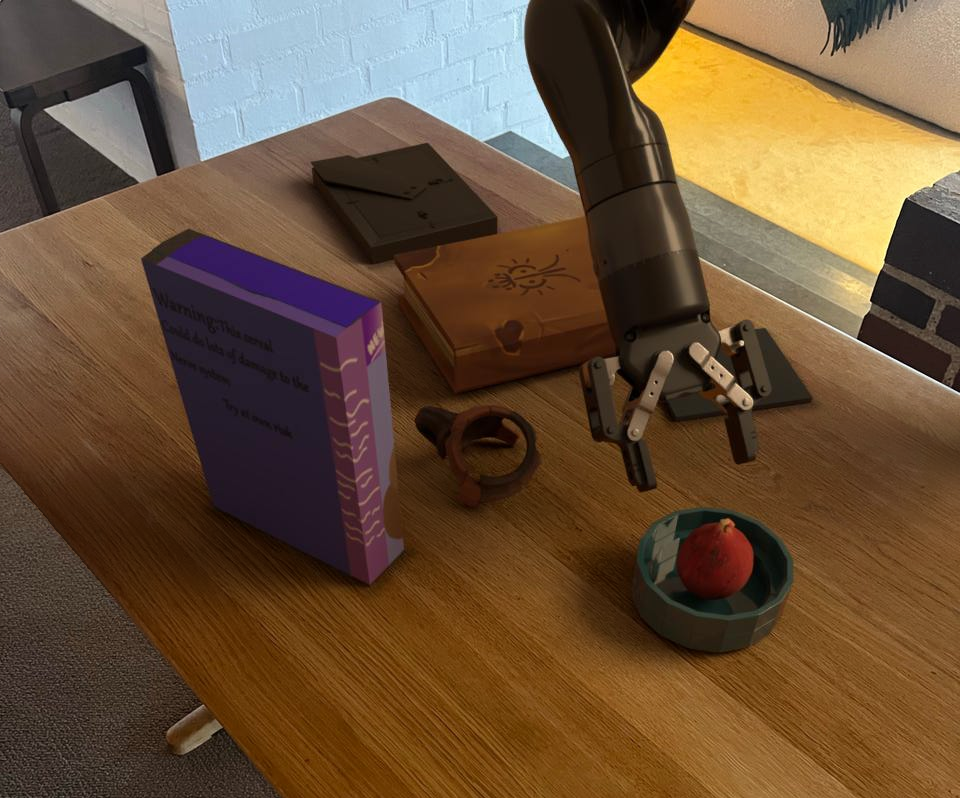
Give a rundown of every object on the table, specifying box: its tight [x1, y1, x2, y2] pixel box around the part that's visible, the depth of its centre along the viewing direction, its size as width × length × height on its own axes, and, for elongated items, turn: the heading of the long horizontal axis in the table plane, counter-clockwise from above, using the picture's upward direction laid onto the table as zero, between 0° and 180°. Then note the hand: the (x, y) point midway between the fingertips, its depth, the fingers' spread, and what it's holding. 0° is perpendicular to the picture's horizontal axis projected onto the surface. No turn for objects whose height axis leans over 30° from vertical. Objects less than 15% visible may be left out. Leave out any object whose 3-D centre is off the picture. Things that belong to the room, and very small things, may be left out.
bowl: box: [630, 506, 795, 653], centre depth 79 cm, size 12×12×4 cm
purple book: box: [140, 228, 405, 587], centre depth 77 cm, size 17×5×24 cm, turn 57°
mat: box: [664, 327, 814, 422], centre depth 99 cm, size 14×12×1 cm
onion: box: [677, 518, 753, 600], centre depth 77 cm, size 6×6×8 cm
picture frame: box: [310, 142, 498, 265], centre depth 120 cm, size 16×3×21 cm
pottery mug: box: [413, 404, 543, 508], centre depth 88 cm, size 12×10×8 cm
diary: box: [393, 216, 615, 395], centre depth 102 cm, size 23×19×6 cm
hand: (697, 476), depth 76 cm, fingers open, 8 cm apart
